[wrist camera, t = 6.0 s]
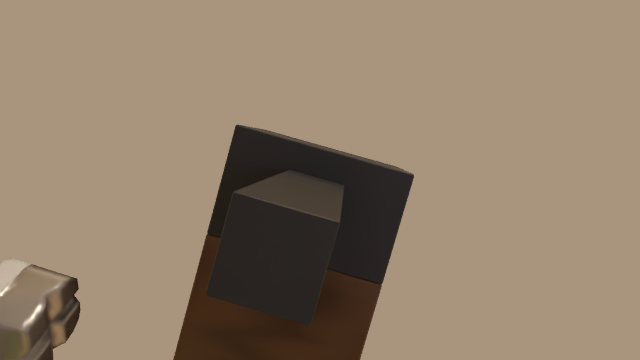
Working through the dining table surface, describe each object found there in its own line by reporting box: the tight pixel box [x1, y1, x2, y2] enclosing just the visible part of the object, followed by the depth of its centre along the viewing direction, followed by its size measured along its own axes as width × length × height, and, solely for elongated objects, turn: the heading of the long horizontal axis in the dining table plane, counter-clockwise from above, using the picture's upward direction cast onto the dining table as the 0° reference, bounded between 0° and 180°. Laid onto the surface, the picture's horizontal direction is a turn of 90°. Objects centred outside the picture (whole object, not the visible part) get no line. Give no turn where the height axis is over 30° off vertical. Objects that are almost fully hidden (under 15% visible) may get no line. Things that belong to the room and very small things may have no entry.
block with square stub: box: [206, 125, 414, 326], centre depth 21 cm, size 8×19×5 cm, turn 177°
